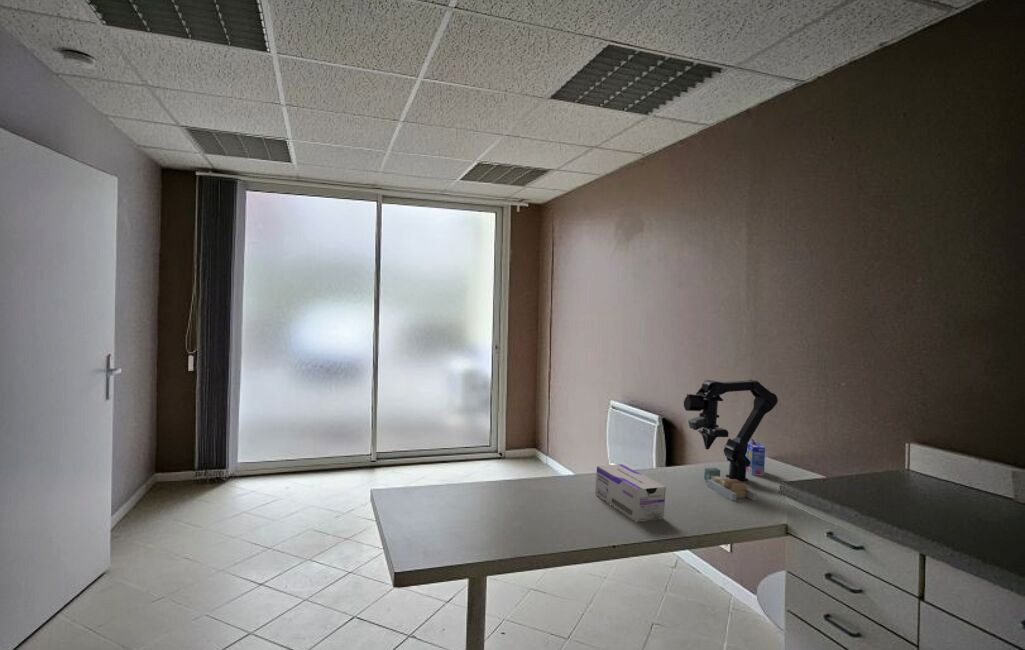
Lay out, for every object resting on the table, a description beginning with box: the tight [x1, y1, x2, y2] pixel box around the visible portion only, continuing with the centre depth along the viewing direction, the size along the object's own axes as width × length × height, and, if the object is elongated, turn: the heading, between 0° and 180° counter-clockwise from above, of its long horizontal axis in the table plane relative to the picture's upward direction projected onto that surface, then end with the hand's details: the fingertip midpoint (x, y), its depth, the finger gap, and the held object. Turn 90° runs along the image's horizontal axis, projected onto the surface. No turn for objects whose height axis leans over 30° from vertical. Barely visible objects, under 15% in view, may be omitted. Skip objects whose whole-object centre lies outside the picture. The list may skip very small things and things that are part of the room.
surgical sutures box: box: [594, 463, 667, 523], centre depth 181 cm, size 25×11×11 cm, turn 22°
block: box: [724, 478, 747, 499], centre depth 200 cm, size 6×5×5 cm
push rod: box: [703, 467, 725, 487], centre depth 209 cm, size 12×5×4 cm, turn 13°
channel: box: [706, 480, 758, 502], centre depth 202 cm, size 16×10×2 cm, turn 13°
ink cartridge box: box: [745, 437, 766, 477], centre depth 231 cm, size 10×6×14 cm, turn 174°
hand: (707, 449), depth 218 cm, fingers closed
